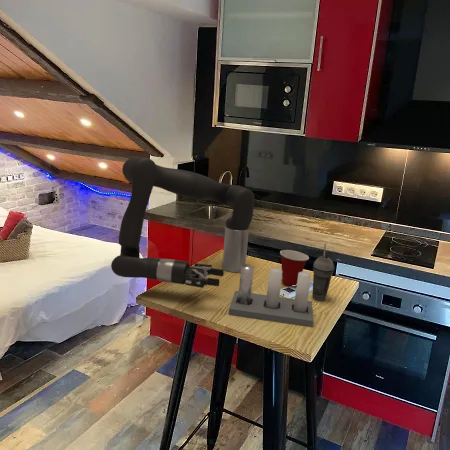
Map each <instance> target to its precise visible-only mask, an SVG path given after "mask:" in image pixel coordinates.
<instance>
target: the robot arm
mask: <svg viewBox="0 0 450 450" xmlns="http://www.w3.org/2000/svg"><path fill="white" fill-rule="evenodd" d="M122 175H123V177H124V178H125V179H126V181H128V182H129V183H130V184H132V185H131V186H132V187H131V193H130V194H131V195H130V199H129V203H128V205H127V207H126V209H125V211H124V214H123V216H122V220H121V223H120V229H119V233H118V234H119V235H118V245H119V246H120V254H119V255H117V256H115V257H114V258H113V259H112V261H111V264H110V265H111V266H110V267H111V270H112V272H113V273H114V274H115V275H116V276H117V277H122V278H139V279H140V278H141V279H142V278H144V279H150V280H156V281H157V280H158V281H161V282H164V283H172V284H180V285H185V286H189V287H195V288H201V289H203V288H205V286H207V287H208V286H210V287H211V286H214V287H219V286H220V281H221V280H220V278H213V277H208V276H216V277H224V275H225V273H224V272H225V271H226V272H231V273H241V266H242V265H245V264H246V263H247V253H248V252H247V251H248V242H249V233H250V232H249V231H250V225H251V223H252V221H253V216H254V209H255V202H256V201H255V200H256V199H255V194H254V192H253V191H252V190H251V189H249V188H247V187H243V186H241V185H235V184H231V183H230V184H228V183H223V182H219V181H216V180H214V179H213V178H211V177H208V176H205V175H203V174H200V173H197V172H193V171H190V170H184V169H179V168H172V167H171V168H170V167H164V166H161V165H159V164H156V162H155V161H153V159H151V158H149V157H143V156H133V157H130V158H128V159H127V160H126V161H124V163H123V165H122ZM154 187H155V188H158V189H162V190H165V191H167V192H170V193H173V194H175V195H178V196H182V197H184V198H188V199H193V200H197V201H214V202H216V203H219V204H222V205H224V206H227V207H228V208H231V209H232V215H231V217H228V218H226V221H225V228H224V241H223V243H224V244H223V255H222V264H221V265H222V266H221V267H222V269H221V268H216V267H215V268H214V267H213V265H212V264H206V263H197V262H196V263H194V266H190V262H188V261H186V260H185V261H184V260H178V259H170V258H157V257H148V256H147V257H141V256H140V251H141V250H140V242H141V237H142V231H143V225H144V221H145V216H146V211H147V207H148V204H149V200H150V198H151V194H152V192H153V189H154Z"/></svg>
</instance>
